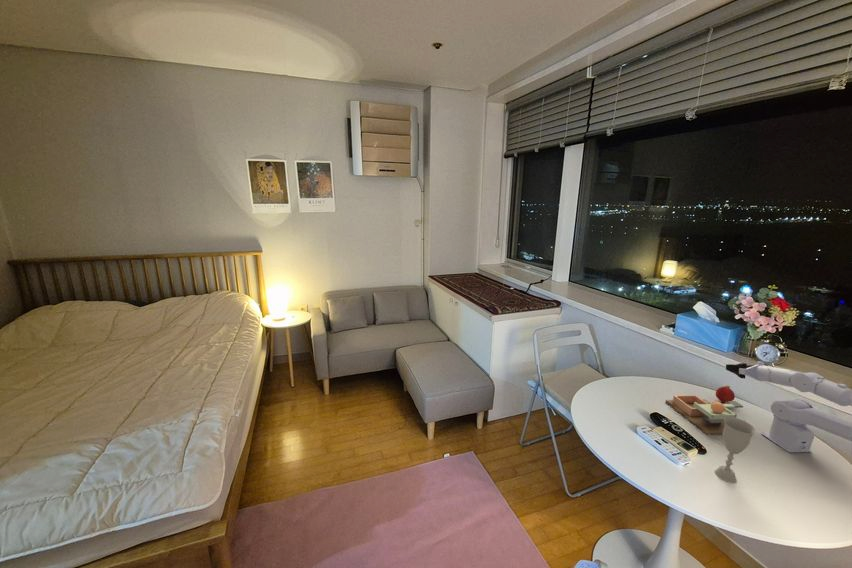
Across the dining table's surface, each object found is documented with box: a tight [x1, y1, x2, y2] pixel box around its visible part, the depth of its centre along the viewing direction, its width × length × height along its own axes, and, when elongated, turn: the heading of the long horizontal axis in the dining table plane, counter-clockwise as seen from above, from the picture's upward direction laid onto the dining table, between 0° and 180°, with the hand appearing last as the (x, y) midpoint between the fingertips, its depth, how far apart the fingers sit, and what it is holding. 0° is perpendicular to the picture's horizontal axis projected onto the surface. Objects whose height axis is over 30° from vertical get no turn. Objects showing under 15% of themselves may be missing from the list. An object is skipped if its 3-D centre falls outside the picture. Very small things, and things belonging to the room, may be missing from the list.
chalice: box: [714, 417, 756, 484], centre depth 99 cm, size 7×7×18 cm
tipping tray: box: [693, 400, 744, 423], centre depth 123 cm, size 10×18×3 cm, turn 92°
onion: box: [715, 385, 736, 404], centre depth 137 cm, size 6×6×8 cm
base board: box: [665, 398, 725, 436], centre depth 128 cm, size 20×17×5 cm
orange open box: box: [672, 394, 707, 416], centre depth 132 cm, size 9×9×3 cm
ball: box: [711, 401, 725, 413], centre depth 121 cm, size 4×4×4 cm
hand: (735, 367), depth 131 cm, fingers open, 7 cm apart
